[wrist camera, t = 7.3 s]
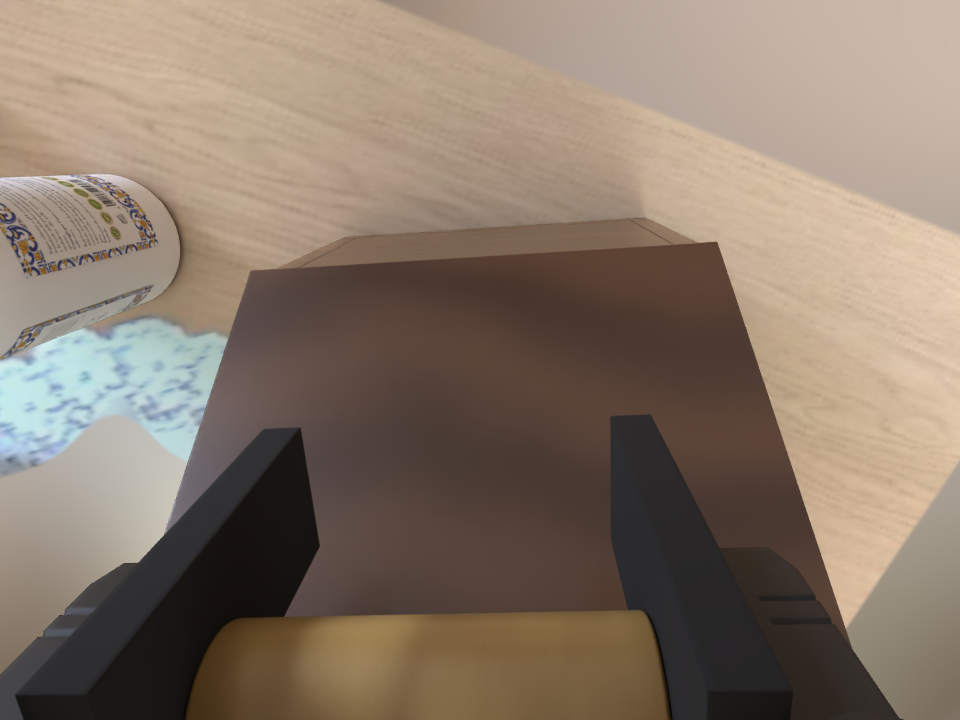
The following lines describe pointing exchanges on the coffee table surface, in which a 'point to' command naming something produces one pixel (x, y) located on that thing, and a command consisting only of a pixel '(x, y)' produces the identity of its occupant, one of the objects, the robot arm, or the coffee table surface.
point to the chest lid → (484, 478)
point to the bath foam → (78, 254)
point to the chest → (491, 242)
